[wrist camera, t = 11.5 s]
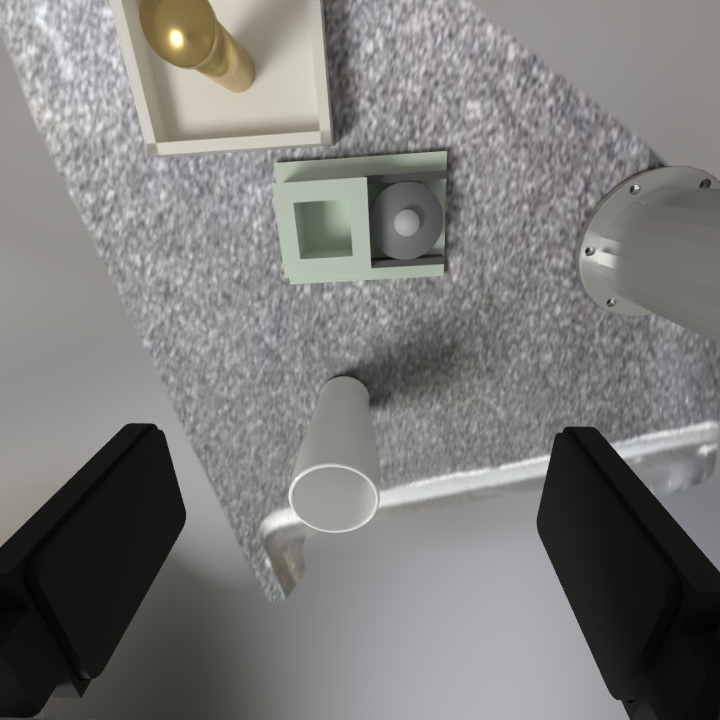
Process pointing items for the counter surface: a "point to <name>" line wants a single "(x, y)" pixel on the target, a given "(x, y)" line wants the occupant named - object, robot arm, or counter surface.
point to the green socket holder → (362, 217)
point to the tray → (228, 109)
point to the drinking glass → (337, 461)
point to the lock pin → (196, 41)
